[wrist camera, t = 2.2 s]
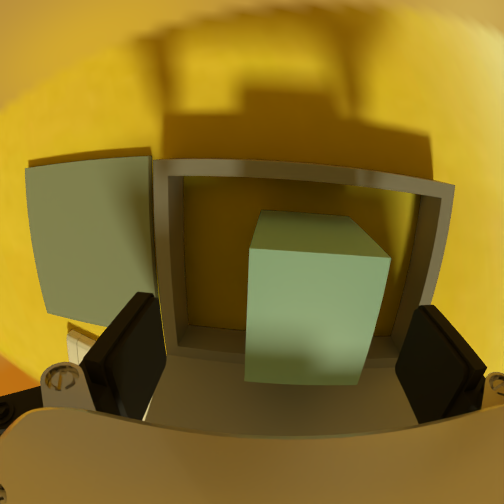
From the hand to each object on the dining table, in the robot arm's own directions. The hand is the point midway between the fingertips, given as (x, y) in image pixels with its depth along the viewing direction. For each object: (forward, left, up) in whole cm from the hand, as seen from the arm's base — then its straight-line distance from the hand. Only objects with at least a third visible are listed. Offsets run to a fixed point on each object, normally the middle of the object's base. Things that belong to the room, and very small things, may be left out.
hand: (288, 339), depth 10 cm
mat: (+14, 0, -8) cm, 16 cm away
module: (-1, 0, -8) cm, 8 cm away
